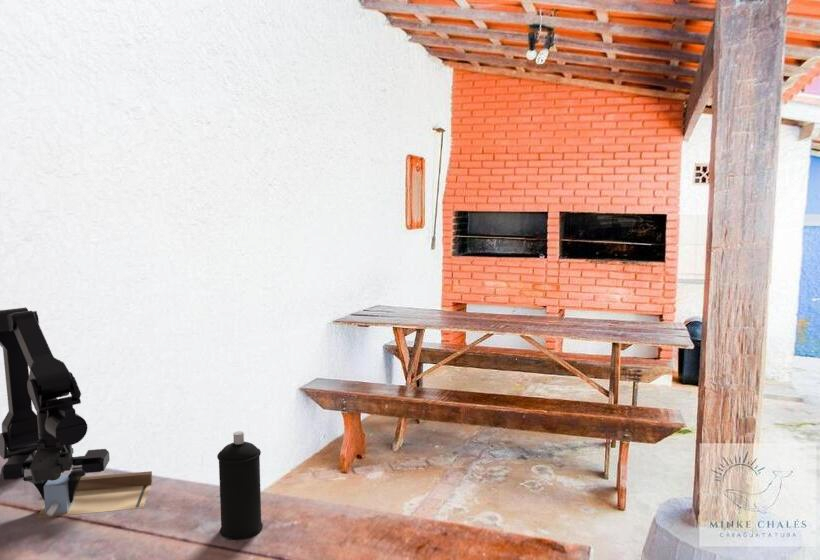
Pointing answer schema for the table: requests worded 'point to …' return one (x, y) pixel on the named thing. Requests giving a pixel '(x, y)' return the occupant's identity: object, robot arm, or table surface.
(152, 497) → the table surface
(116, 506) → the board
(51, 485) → the block
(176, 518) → the table surface
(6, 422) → the robot arm
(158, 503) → the table surface
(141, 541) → the table surface
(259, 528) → the aerosol can
